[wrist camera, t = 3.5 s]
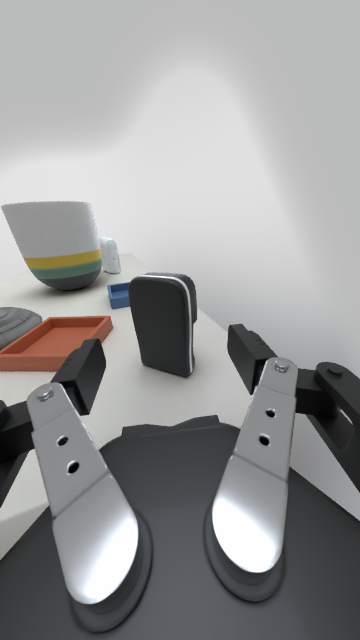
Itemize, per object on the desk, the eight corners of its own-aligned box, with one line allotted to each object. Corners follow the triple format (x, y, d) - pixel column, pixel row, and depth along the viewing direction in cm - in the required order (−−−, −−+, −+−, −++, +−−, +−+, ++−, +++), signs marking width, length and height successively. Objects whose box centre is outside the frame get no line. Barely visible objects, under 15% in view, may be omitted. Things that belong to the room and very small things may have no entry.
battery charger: (201, 360, 25) (200, 271, 20) (189, 380, 22) (184, 281, 17) (155, 348, 28) (144, 268, 23) (139, 365, 25) (122, 276, 20)
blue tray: (162, 299, 45) (161, 290, 44) (112, 309, 42) (109, 299, 41) (151, 286, 55) (150, 278, 54) (109, 293, 52) (107, 285, 51)
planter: (120, 284, 58) (103, 201, 49) (46, 305, 47) (4, 201, 37) (94, 275, 72) (77, 207, 62) (32, 289, 60) (-2, 209, 50)
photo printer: (123, 272, 73) (116, 236, 68) (112, 274, 71) (103, 237, 65) (112, 268, 81) (105, 235, 75) (102, 270, 78) (93, 237, 73)
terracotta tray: (113, 327, 35) (110, 315, 34) (80, 371, 25) (74, 356, 24) (53, 328, 36) (49, 317, 35) (-1, 370, 26) (-10, 356, 25)
